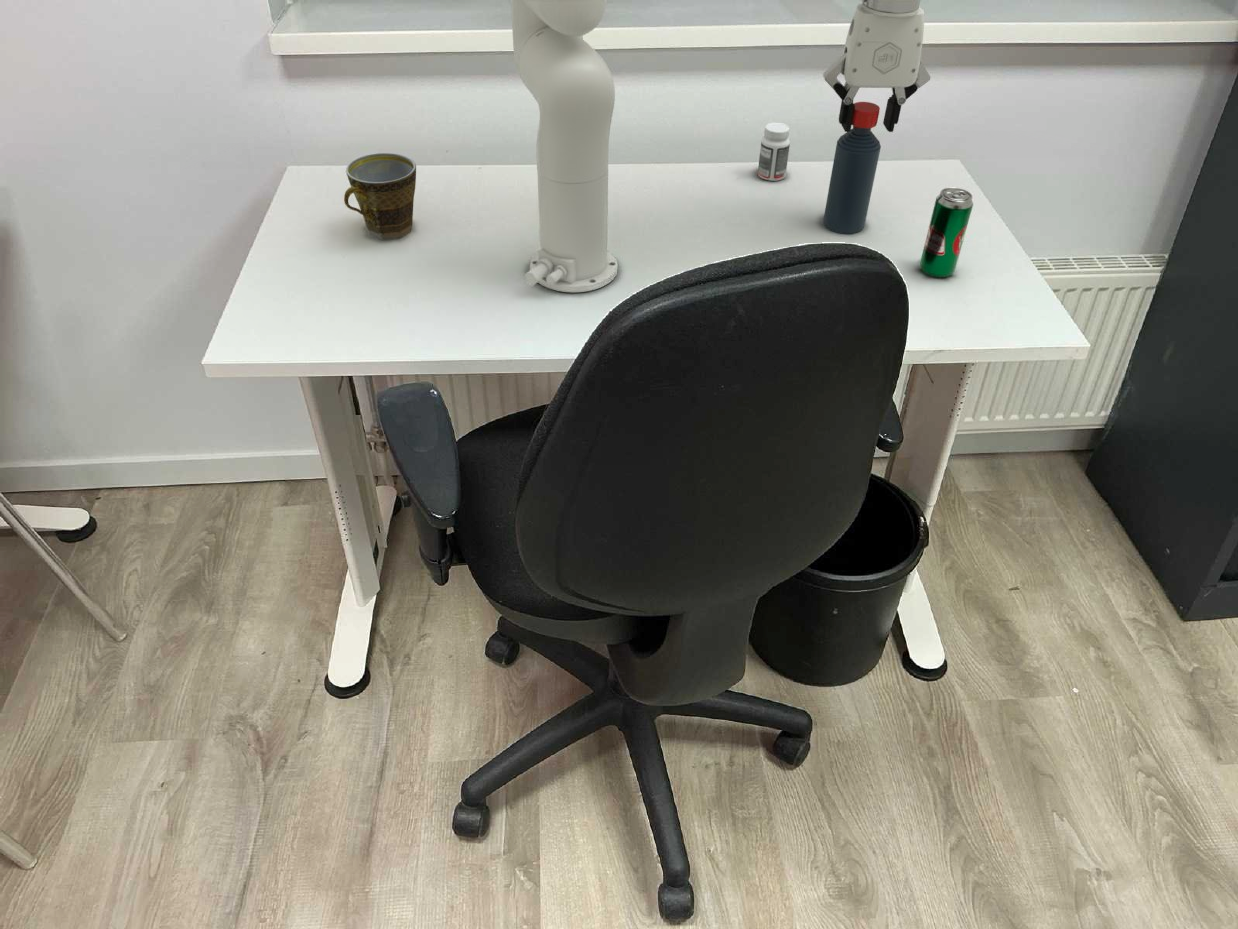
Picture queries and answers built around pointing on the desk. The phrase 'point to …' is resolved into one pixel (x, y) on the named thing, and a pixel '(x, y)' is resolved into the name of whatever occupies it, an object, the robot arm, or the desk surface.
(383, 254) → the desk surface
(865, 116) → the cap
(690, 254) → the desk surface
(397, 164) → the ceramic cup
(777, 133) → the pill bottle
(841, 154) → the bottle
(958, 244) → the soda can
